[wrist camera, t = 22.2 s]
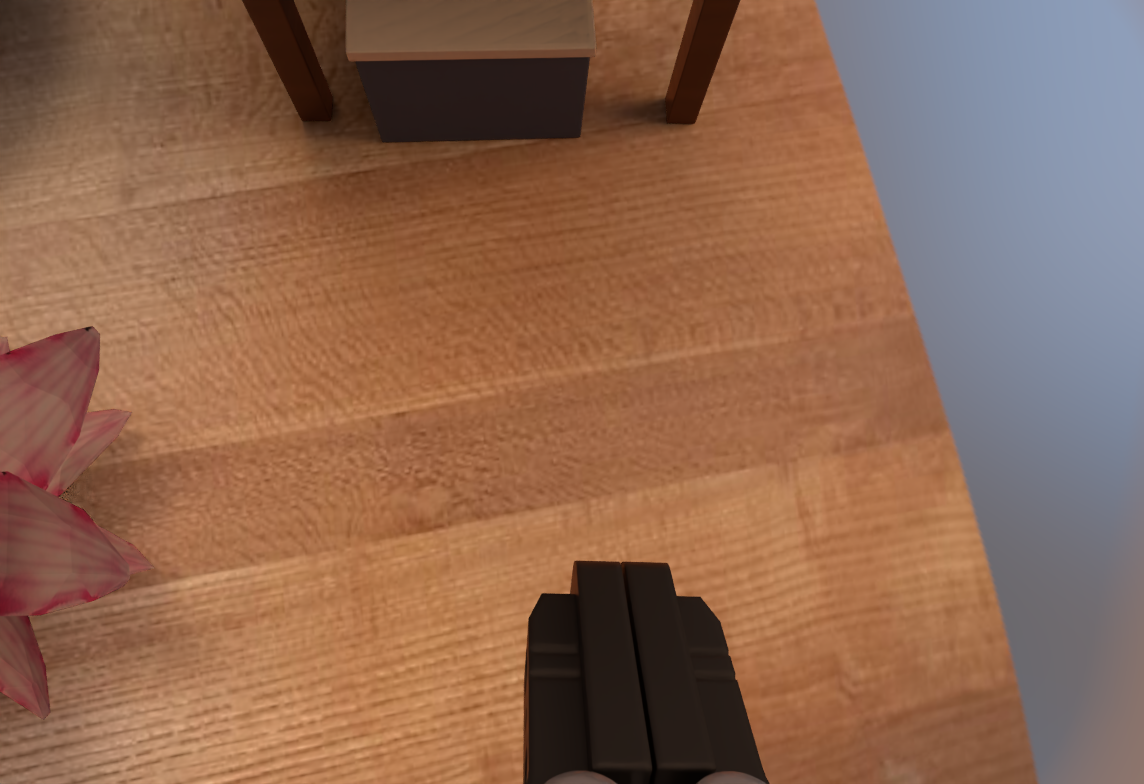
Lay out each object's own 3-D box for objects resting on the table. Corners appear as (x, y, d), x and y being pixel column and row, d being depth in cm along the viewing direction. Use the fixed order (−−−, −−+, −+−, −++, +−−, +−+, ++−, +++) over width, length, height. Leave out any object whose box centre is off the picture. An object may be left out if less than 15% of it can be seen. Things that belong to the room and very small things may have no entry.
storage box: (584, 141, 39) (596, 48, 32) (377, 146, 38) (345, 52, 31) (571, -30, 41) (579, -150, 34) (377, -28, 40) (346, -151, 34)
